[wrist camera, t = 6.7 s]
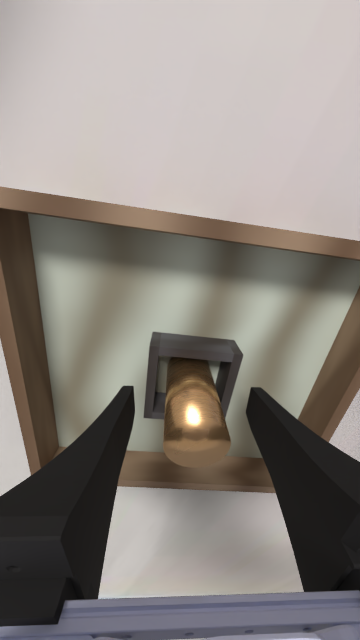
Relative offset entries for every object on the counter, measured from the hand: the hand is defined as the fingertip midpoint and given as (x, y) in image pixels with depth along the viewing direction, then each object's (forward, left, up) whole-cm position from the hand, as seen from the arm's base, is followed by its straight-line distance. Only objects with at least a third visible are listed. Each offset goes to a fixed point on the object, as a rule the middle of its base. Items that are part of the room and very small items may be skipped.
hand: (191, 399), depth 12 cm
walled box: (0, 0, -4) cm, 4 cm away
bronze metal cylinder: (0, 0, -3) cm, 3 cm away
